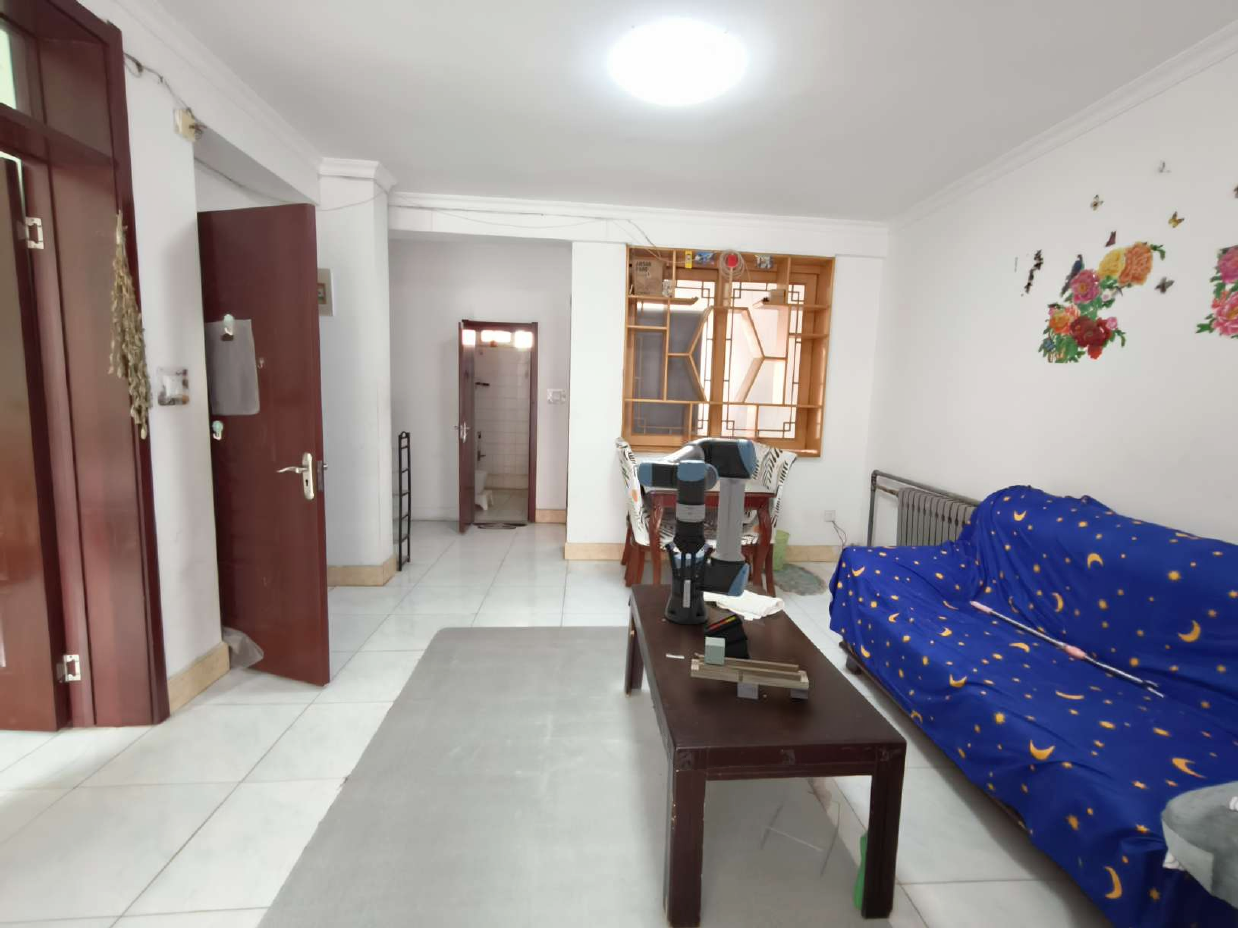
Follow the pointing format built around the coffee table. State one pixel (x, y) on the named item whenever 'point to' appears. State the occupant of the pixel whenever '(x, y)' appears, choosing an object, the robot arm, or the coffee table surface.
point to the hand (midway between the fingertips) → (686, 605)
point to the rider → (714, 650)
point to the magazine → (730, 636)
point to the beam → (753, 675)
